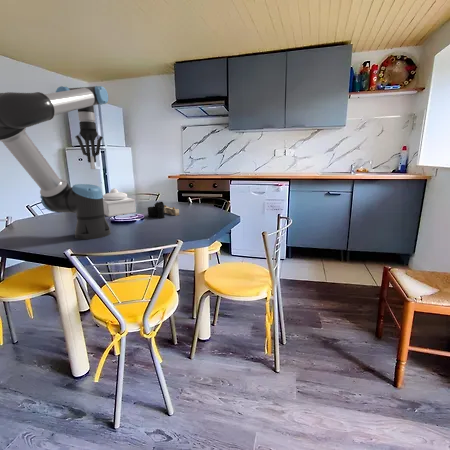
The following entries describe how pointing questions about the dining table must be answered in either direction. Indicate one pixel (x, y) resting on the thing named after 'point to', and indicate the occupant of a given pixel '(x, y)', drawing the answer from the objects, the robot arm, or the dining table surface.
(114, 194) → the white lidded box
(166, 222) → the dining table surface
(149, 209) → the film camera
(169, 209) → the oak ledge rail
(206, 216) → the dining table surface
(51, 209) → the robot arm
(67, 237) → the dining table surface
